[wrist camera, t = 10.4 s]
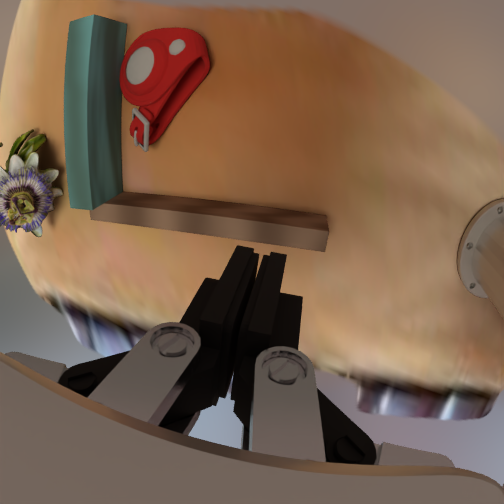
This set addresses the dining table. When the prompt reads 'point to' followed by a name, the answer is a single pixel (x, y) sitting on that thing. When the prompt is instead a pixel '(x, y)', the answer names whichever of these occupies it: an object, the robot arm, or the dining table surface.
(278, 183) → the dining table surface
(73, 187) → the frame
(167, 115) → the tracker holder
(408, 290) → the dining table surface
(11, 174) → the passion flower
